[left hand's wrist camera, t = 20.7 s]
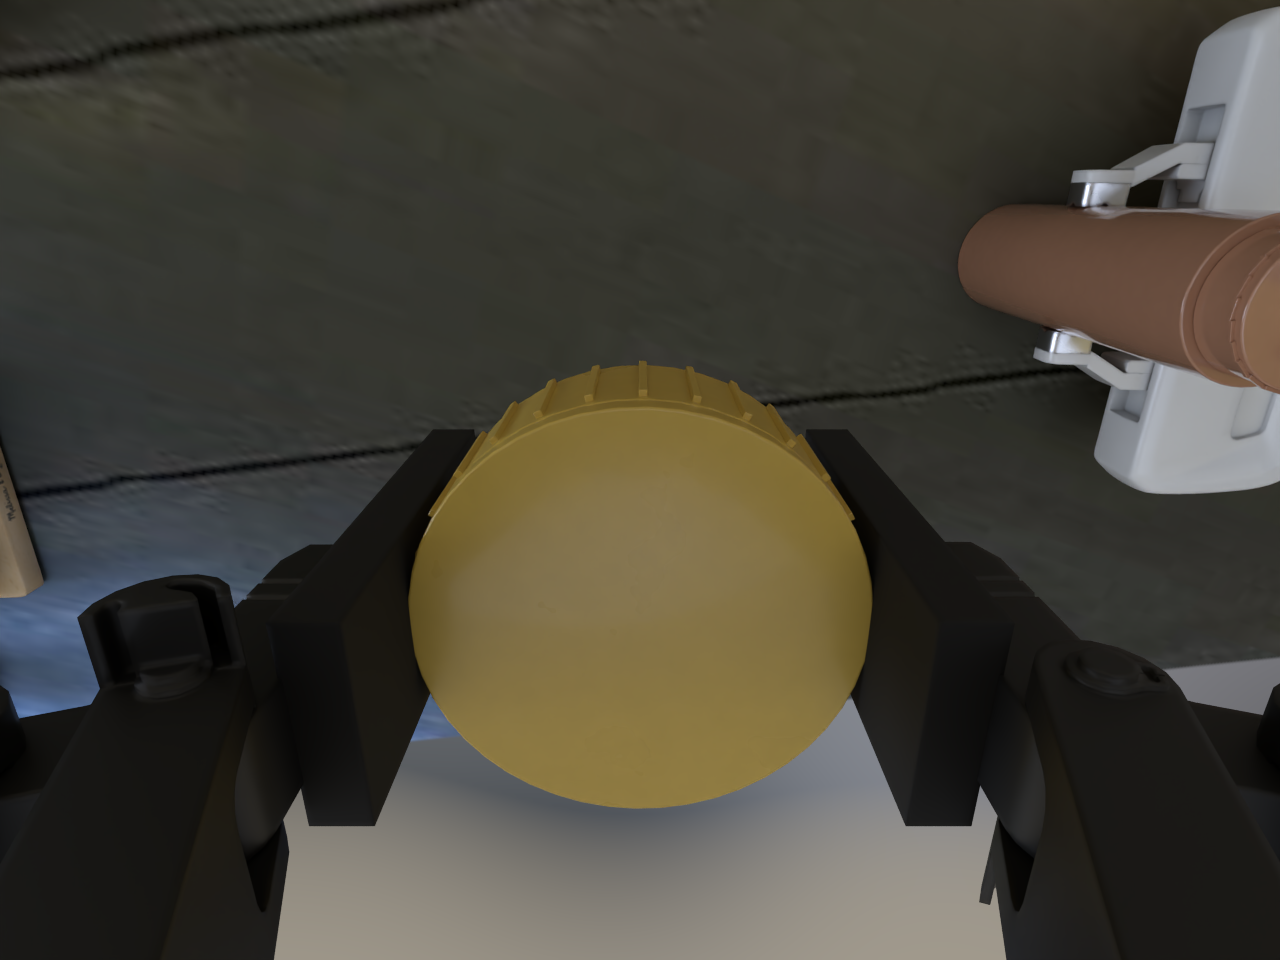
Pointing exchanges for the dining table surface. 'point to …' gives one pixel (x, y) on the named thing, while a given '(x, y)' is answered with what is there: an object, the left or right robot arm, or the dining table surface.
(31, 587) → the pounding bench toy
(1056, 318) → the jar
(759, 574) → the lid
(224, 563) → the dining table surface
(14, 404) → the dining table surface
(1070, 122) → the dining table surface
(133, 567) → the dining table surface
